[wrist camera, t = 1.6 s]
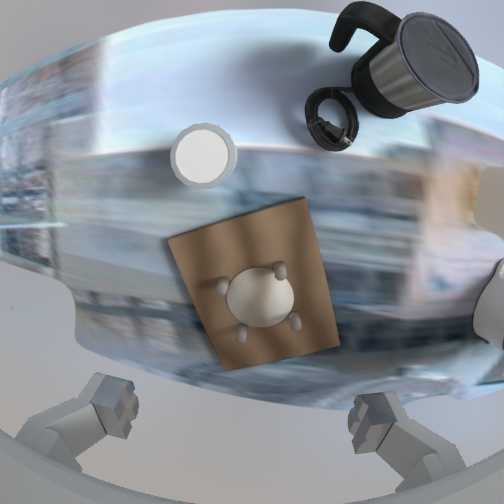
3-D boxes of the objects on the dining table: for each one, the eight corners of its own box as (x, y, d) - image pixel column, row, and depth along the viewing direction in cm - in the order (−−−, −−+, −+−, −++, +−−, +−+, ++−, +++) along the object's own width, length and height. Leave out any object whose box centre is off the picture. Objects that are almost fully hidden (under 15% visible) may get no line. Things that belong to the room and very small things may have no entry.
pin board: (304, 196, 35) (309, 201, 30) (338, 339, 41) (344, 357, 37) (171, 237, 37) (159, 247, 33) (226, 364, 44) (222, 383, 39)
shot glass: (196, 190, 35) (179, 197, 29) (182, 138, 33) (162, 135, 27) (248, 175, 34) (243, 179, 28) (234, 123, 32) (226, 114, 26)
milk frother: (418, 72, 28) (481, 43, 14) (397, 175, 33) (464, 190, 19) (320, 33, 28) (346, -26, 14) (294, 141, 33) (311, 128, 19)
